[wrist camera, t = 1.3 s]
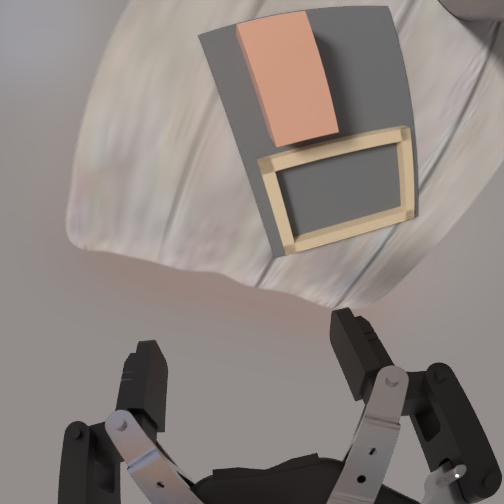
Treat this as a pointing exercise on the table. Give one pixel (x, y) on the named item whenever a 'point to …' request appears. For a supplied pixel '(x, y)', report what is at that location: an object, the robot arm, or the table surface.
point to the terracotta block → (288, 77)
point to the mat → (332, 145)
